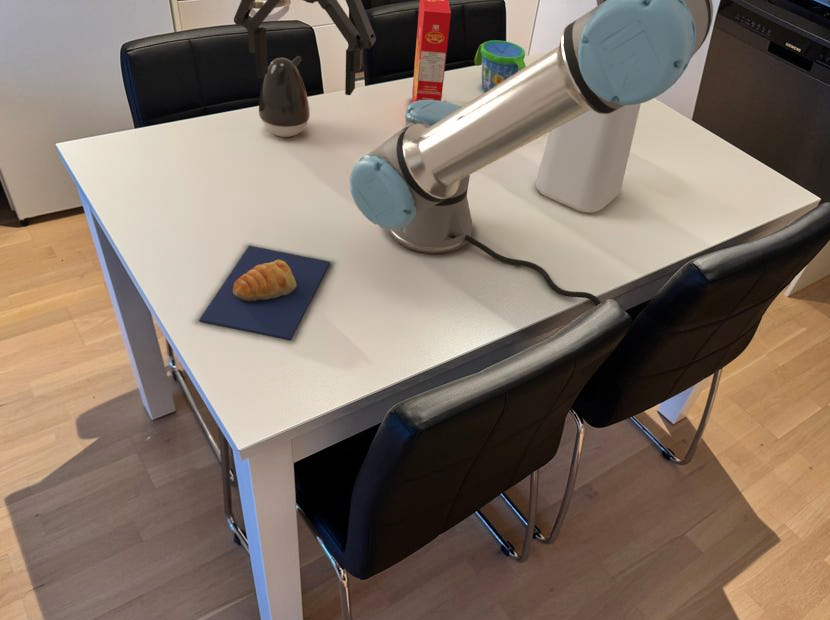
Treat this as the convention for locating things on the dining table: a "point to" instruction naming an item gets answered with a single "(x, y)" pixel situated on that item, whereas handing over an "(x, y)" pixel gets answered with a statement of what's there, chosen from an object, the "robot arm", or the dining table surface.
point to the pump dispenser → (284, 99)
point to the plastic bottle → (588, 159)
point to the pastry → (265, 282)
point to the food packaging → (431, 49)
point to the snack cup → (499, 61)
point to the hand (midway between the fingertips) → (306, 83)
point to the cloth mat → (273, 313)
